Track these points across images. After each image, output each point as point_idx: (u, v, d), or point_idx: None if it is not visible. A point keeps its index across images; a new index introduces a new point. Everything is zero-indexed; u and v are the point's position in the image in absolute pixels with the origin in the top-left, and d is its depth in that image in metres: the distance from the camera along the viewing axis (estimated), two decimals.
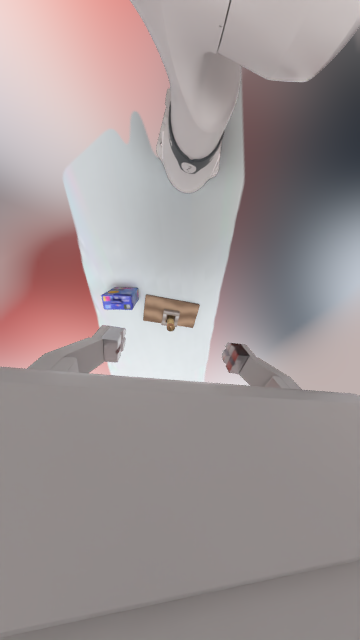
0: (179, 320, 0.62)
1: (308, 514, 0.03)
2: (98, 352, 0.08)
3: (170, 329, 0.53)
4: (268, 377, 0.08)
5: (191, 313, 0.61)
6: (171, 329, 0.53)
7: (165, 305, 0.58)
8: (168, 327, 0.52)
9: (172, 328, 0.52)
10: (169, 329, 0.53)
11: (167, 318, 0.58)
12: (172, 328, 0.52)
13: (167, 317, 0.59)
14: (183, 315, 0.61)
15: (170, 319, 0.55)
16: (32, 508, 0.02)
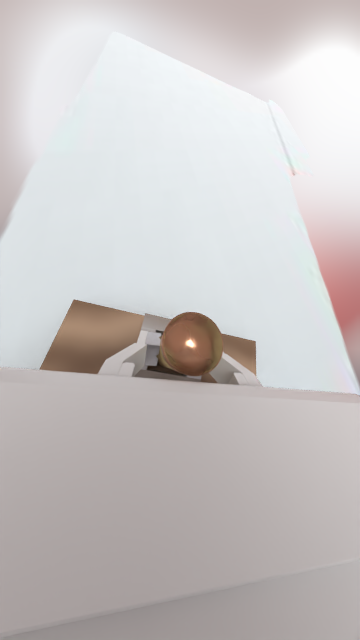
0: (131, 336, 0.15)
1: (307, 513, 0.03)
2: (142, 357, 0.08)
3: (196, 327, 0.07)
4: (233, 374, 0.08)
5: None
6: (188, 327, 0.07)
7: None
8: (212, 346, 0.07)
9: (181, 336, 0.06)
10: (203, 328, 0.07)
11: None
12: (180, 340, 0.06)
13: None
14: None
15: None
16: (32, 508, 0.02)
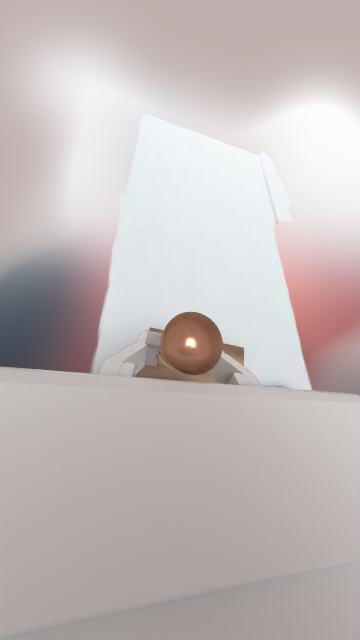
0: None
1: (307, 513, 0.03)
2: (142, 357, 0.08)
3: (195, 327, 0.07)
4: (233, 374, 0.08)
5: None
6: (188, 326, 0.07)
7: (207, 381, 0.29)
8: (211, 345, 0.07)
9: (180, 335, 0.06)
10: (203, 327, 0.07)
11: None
12: (179, 339, 0.06)
13: None
14: None
15: None
16: (32, 508, 0.02)
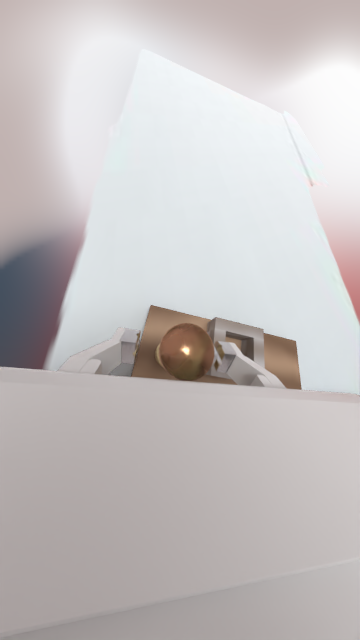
0: None
1: (308, 513, 0.03)
2: (117, 354, 0.08)
3: (190, 337, 0.07)
4: (254, 376, 0.08)
5: (157, 365, 0.16)
6: (183, 337, 0.07)
7: None
8: (204, 354, 0.07)
9: (176, 345, 0.07)
10: (196, 337, 0.08)
11: None
12: (175, 349, 0.07)
13: None
14: None
15: None
16: (32, 508, 0.02)
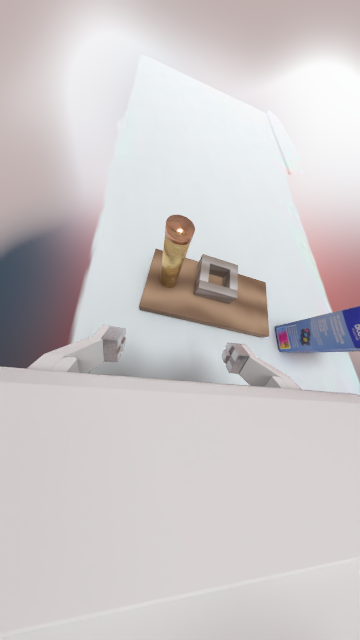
0: (191, 271, 0.25)
1: (307, 513, 0.03)
2: (98, 352, 0.08)
3: (181, 221, 0.14)
4: (268, 377, 0.08)
5: (161, 286, 0.23)
6: (178, 220, 0.14)
7: (226, 311, 0.24)
8: (189, 228, 0.14)
9: (174, 222, 0.14)
10: (185, 221, 0.14)
11: (179, 273, 0.21)
12: (174, 224, 0.14)
13: None
14: (182, 282, 0.24)
15: (174, 265, 0.18)
16: (32, 508, 0.02)
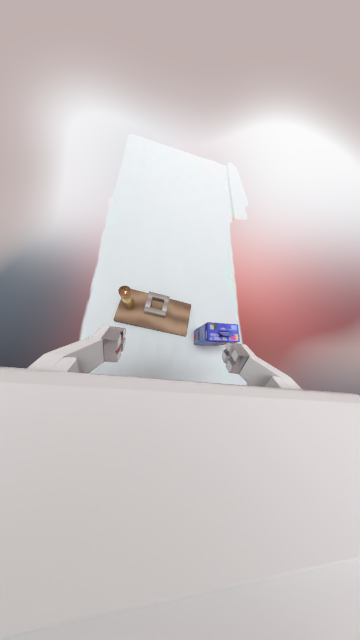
0: (144, 300, 0.46)
1: (307, 513, 0.03)
2: (98, 352, 0.08)
3: (125, 288, 0.35)
4: (268, 377, 0.08)
5: (126, 309, 0.43)
6: (124, 288, 0.35)
7: (162, 322, 0.45)
8: (128, 292, 0.35)
9: (122, 290, 0.35)
10: (127, 288, 0.35)
11: (133, 303, 0.41)
12: (122, 290, 0.34)
13: (133, 305, 0.42)
14: (138, 306, 0.44)
15: (127, 302, 0.38)
16: (32, 508, 0.02)
